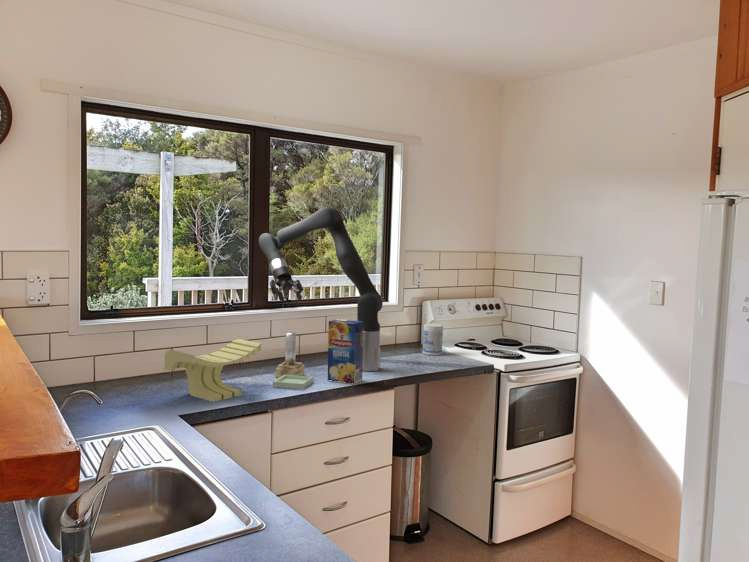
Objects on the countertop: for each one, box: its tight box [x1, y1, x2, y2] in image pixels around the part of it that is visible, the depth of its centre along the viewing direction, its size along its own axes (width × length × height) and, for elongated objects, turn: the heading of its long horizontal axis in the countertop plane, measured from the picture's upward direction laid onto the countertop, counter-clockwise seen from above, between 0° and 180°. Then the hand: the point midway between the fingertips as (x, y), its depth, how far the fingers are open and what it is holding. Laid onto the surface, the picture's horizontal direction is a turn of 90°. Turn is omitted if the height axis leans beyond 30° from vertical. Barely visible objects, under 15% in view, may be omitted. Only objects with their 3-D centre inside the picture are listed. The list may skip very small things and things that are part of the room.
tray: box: [272, 375, 314, 390], centre depth 238 cm, size 12×12×2 cm
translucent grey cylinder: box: [284, 331, 297, 366], centre depth 251 cm, size 4×4×14 cm
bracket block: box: [275, 361, 305, 379], centre depth 251 cm, size 9×9×5 cm
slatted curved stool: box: [164, 338, 262, 402], centre depth 222 cm, size 30×16×18 cm, turn 141°
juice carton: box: [327, 318, 364, 385], centre depth 246 cm, size 12×8×24 cm, turn 65°
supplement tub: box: [422, 323, 444, 357], centre depth 305 cm, size 10×10×15 cm
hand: (291, 300), depth 265 cm, fingers open, 8 cm apart
